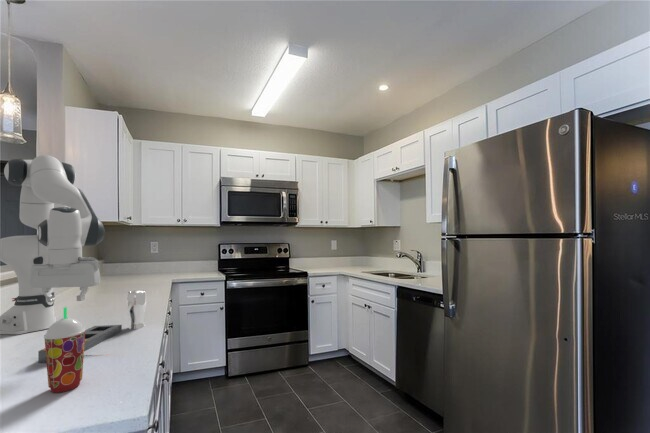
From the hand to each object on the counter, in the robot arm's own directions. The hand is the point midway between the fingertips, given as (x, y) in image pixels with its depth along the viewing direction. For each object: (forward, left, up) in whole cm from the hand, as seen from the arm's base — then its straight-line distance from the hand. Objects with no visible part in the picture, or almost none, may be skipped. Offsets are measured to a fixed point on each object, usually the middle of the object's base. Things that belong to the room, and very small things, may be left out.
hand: (65, 301), depth 109 cm
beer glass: (+8, +28, -18) cm, 34 cm away
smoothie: (+16, -23, -18) cm, 33 cm away
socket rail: (0, +9, -17) cm, 19 cm away
